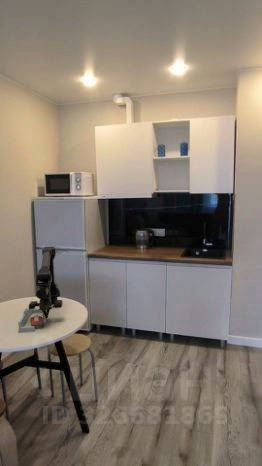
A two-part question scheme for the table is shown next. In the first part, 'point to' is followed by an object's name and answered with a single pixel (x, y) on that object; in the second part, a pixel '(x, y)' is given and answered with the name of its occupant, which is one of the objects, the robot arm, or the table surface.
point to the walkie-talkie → (38, 321)
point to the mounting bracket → (25, 318)
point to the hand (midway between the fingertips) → (46, 318)
